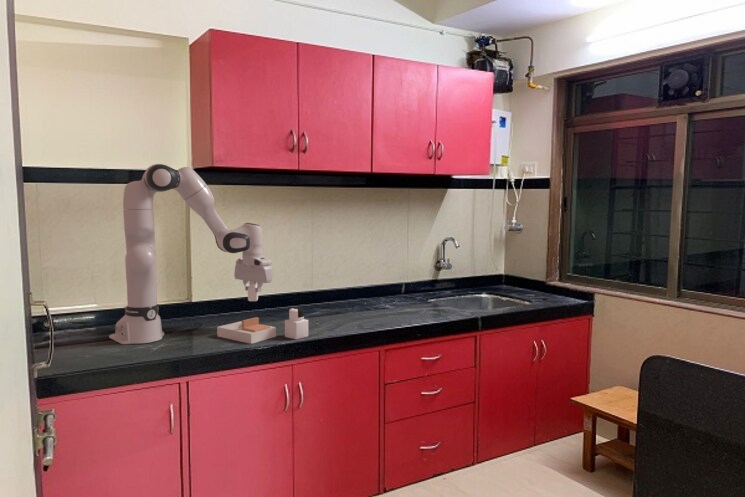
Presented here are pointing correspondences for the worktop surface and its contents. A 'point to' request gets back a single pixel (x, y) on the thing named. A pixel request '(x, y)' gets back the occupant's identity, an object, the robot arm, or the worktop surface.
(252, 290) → the salt shaker
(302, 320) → the white stepped block
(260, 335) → the white tray
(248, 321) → the orange l-shaped bracket
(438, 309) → the worktop surface
